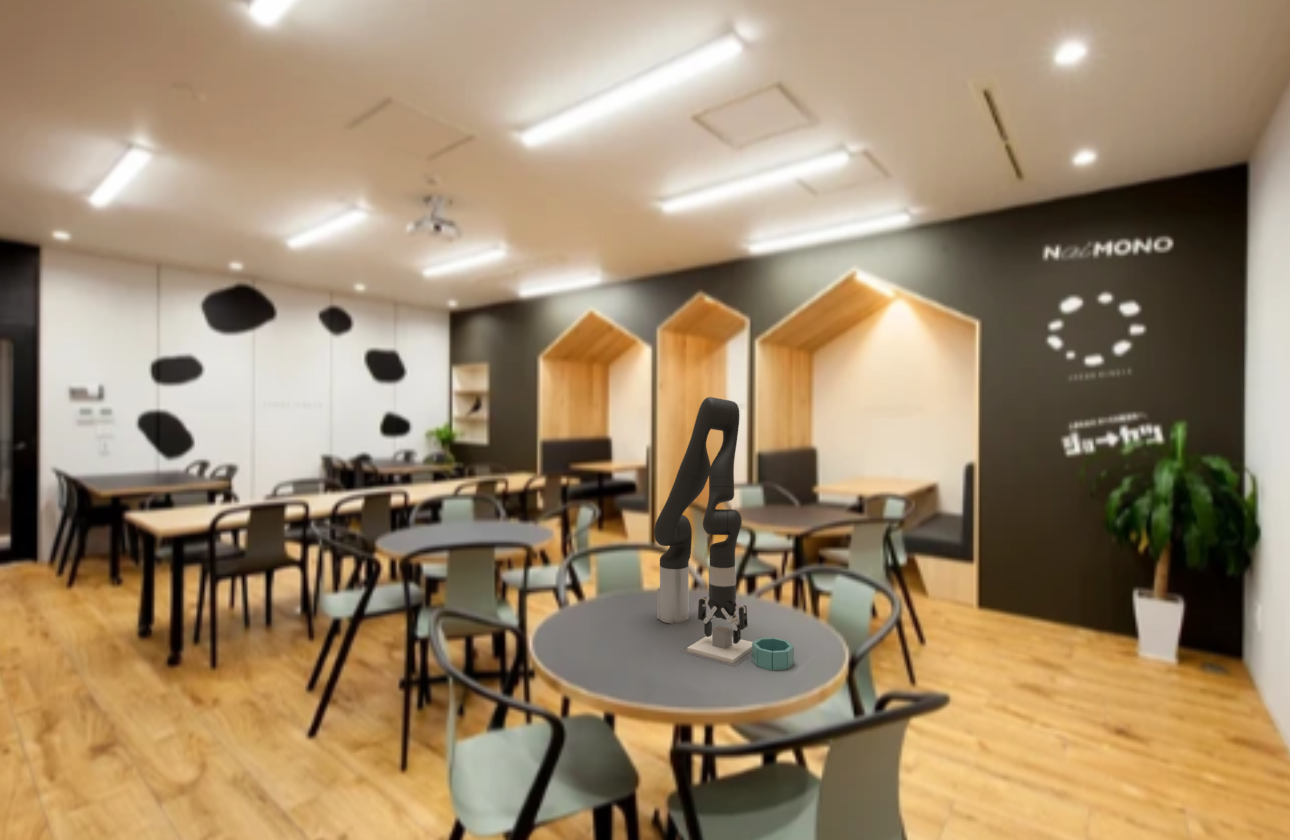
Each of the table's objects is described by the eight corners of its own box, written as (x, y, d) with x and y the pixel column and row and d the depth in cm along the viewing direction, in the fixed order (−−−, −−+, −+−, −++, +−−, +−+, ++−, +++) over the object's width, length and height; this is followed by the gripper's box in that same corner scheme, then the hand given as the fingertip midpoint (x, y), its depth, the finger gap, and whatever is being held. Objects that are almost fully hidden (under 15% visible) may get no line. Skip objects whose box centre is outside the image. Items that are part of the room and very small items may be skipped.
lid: (687, 651, 167) (687, 631, 167) (712, 635, 179) (712, 617, 179) (733, 663, 159) (733, 642, 159) (756, 646, 171) (756, 626, 170)
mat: (679, 653, 167) (679, 651, 167) (710, 634, 181) (710, 633, 181) (735, 668, 157) (735, 666, 157) (763, 647, 171) (763, 646, 171)
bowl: (746, 665, 159) (746, 646, 159) (763, 653, 167) (763, 634, 167) (783, 675, 153) (783, 655, 153) (798, 661, 161) (798, 643, 161)
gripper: (693, 580, 170) (693, 638, 170) (739, 588, 161) (739, 649, 162) (706, 574, 176) (706, 630, 176) (751, 582, 168) (751, 640, 168)
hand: (722, 639), depth 169 cm, fingers open, 8 cm apart
